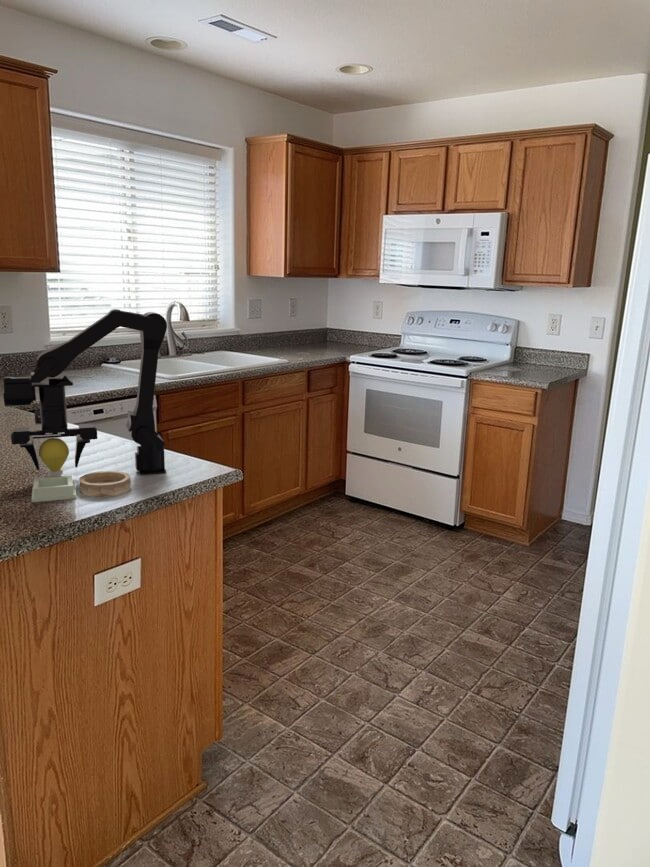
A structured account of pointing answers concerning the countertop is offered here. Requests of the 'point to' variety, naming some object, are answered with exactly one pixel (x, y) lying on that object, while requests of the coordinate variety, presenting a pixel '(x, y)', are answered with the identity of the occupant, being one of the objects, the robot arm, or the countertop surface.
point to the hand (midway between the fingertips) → (57, 468)
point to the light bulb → (54, 455)
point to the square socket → (53, 489)
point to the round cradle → (104, 483)
